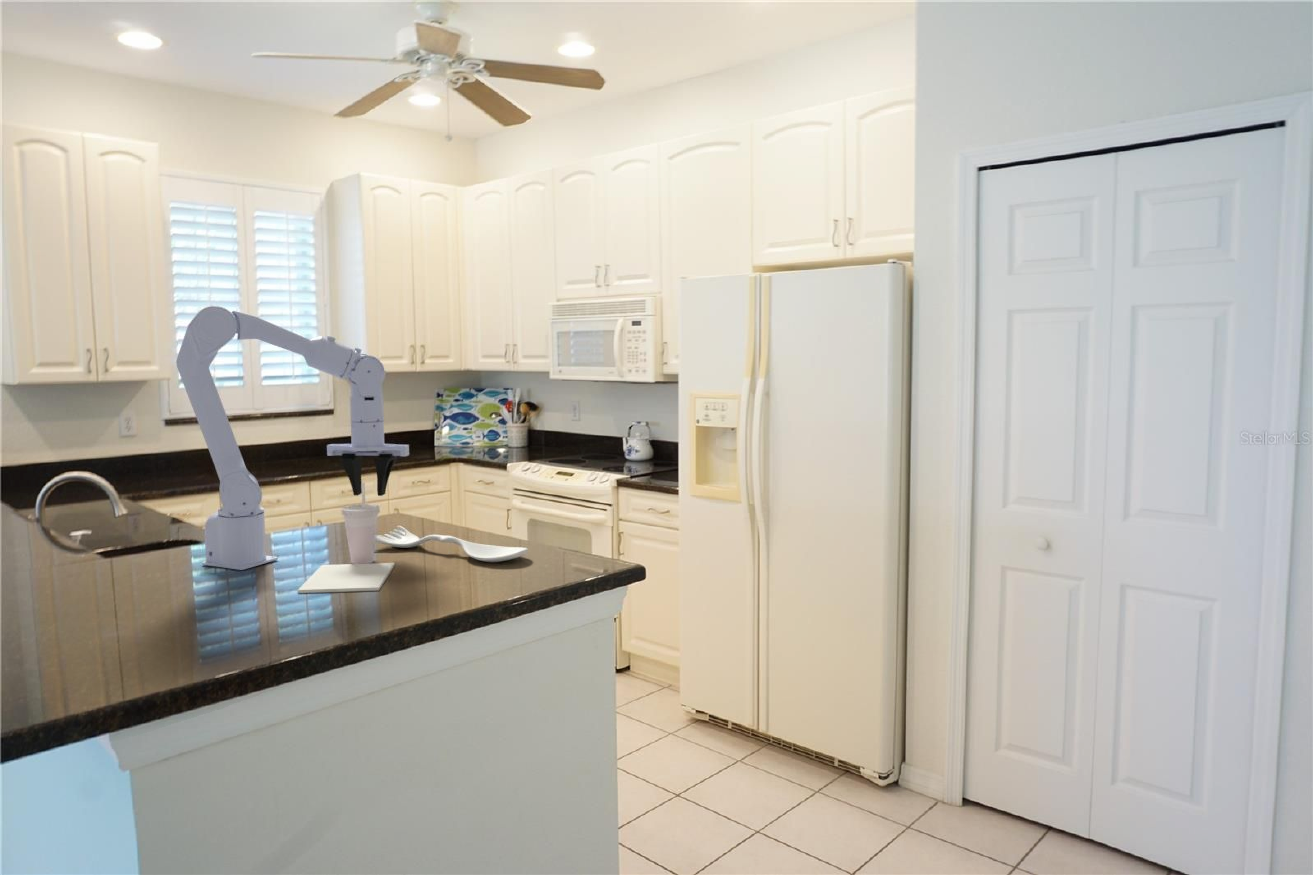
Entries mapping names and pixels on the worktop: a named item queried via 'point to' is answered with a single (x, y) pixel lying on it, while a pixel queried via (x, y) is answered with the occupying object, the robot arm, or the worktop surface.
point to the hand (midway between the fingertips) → (369, 494)
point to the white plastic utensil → (474, 550)
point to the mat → (347, 578)
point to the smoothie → (361, 530)
